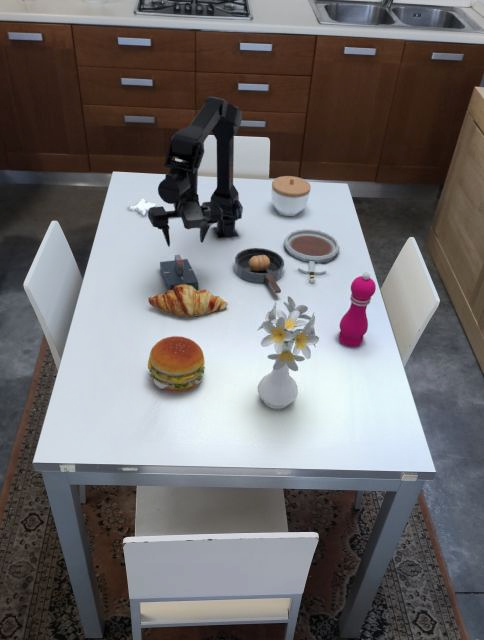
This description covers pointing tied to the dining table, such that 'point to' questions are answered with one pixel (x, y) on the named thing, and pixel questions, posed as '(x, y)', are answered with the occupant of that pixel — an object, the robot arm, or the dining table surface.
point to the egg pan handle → (272, 283)
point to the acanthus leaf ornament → (142, 207)
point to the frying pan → (311, 248)
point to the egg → (259, 263)
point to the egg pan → (259, 276)
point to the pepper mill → (357, 311)
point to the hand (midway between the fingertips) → (185, 243)
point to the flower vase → (285, 352)
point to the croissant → (187, 301)
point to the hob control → (172, 277)
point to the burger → (176, 363)
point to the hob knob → (179, 265)
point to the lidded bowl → (290, 194)
